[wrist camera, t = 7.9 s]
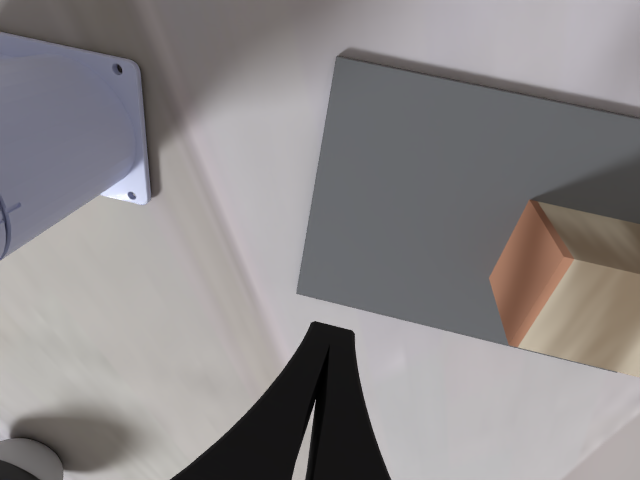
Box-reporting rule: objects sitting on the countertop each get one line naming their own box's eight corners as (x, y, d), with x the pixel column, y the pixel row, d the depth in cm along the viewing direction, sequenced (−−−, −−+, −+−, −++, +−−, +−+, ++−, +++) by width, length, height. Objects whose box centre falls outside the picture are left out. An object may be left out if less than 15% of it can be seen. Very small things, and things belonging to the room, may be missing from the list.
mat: (297, 289, 25) (296, 293, 25) (337, 55, 18) (336, 56, 17) (613, 367, 24) (616, 372, 24) (803, 151, 17) (811, 155, 16)
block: (508, 345, 18) (714, 395, 17) (563, 256, 15) (811, 313, 15) (488, 278, 22) (654, 317, 21) (529, 199, 19) (720, 242, 19)
